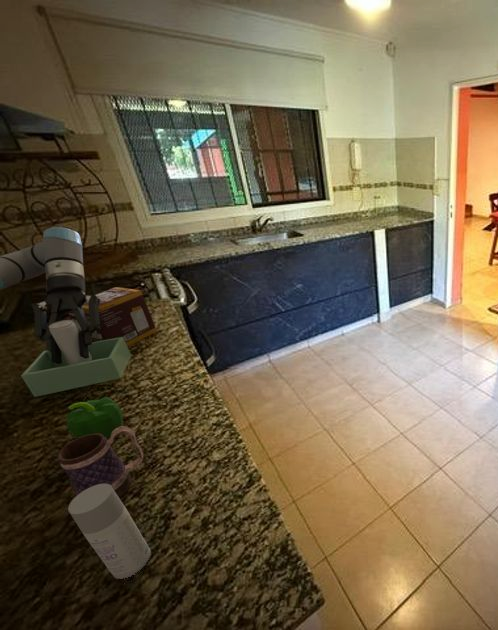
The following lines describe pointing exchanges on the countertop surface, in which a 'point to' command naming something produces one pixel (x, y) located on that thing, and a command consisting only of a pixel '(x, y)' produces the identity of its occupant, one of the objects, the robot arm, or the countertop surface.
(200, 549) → the countertop surface
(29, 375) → the basin
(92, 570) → the countertop surface
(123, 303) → the supplement box
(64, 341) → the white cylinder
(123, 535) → the container
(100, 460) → the mug
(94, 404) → the bell pepper
